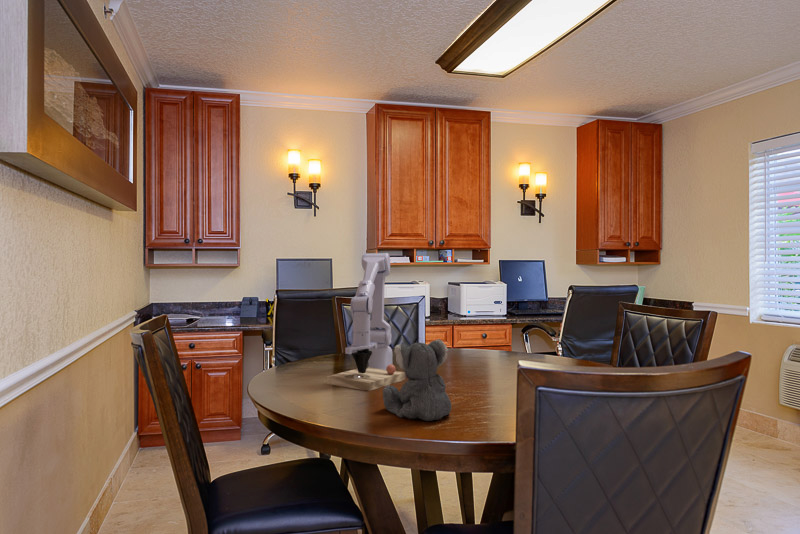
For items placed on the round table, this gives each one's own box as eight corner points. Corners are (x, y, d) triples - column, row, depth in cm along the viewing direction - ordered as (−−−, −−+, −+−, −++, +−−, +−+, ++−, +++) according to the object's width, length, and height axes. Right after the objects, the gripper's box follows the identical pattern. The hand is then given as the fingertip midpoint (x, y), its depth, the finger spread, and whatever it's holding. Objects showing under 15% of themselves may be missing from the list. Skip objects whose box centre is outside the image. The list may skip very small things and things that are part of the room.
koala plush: (437, 402, 149) (436, 334, 149) (467, 419, 132) (466, 342, 132) (379, 408, 143) (379, 337, 143) (403, 427, 126) (403, 346, 126)
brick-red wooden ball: (389, 372, 179) (389, 363, 179) (397, 373, 177) (397, 364, 177) (384, 374, 176) (384, 364, 176) (392, 375, 174) (391, 365, 174)
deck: (364, 373, 189) (364, 366, 189) (405, 379, 179) (405, 372, 179) (326, 383, 173) (326, 376, 173) (369, 391, 163) (369, 383, 163)
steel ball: (353, 384, 173) (356, 375, 174) (362, 386, 171) (365, 377, 173) (349, 382, 170) (352, 372, 171) (357, 384, 169) (361, 375, 170)
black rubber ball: (363, 367, 188) (363, 358, 188) (370, 368, 186) (370, 359, 186) (358, 369, 185) (358, 360, 185) (365, 370, 183) (365, 360, 183)
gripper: (365, 329, 182) (366, 367, 182) (338, 333, 170) (338, 375, 170) (382, 330, 178) (382, 370, 178) (354, 335, 166) (354, 377, 166)
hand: (361, 372), depth 174 cm, fingers closed
